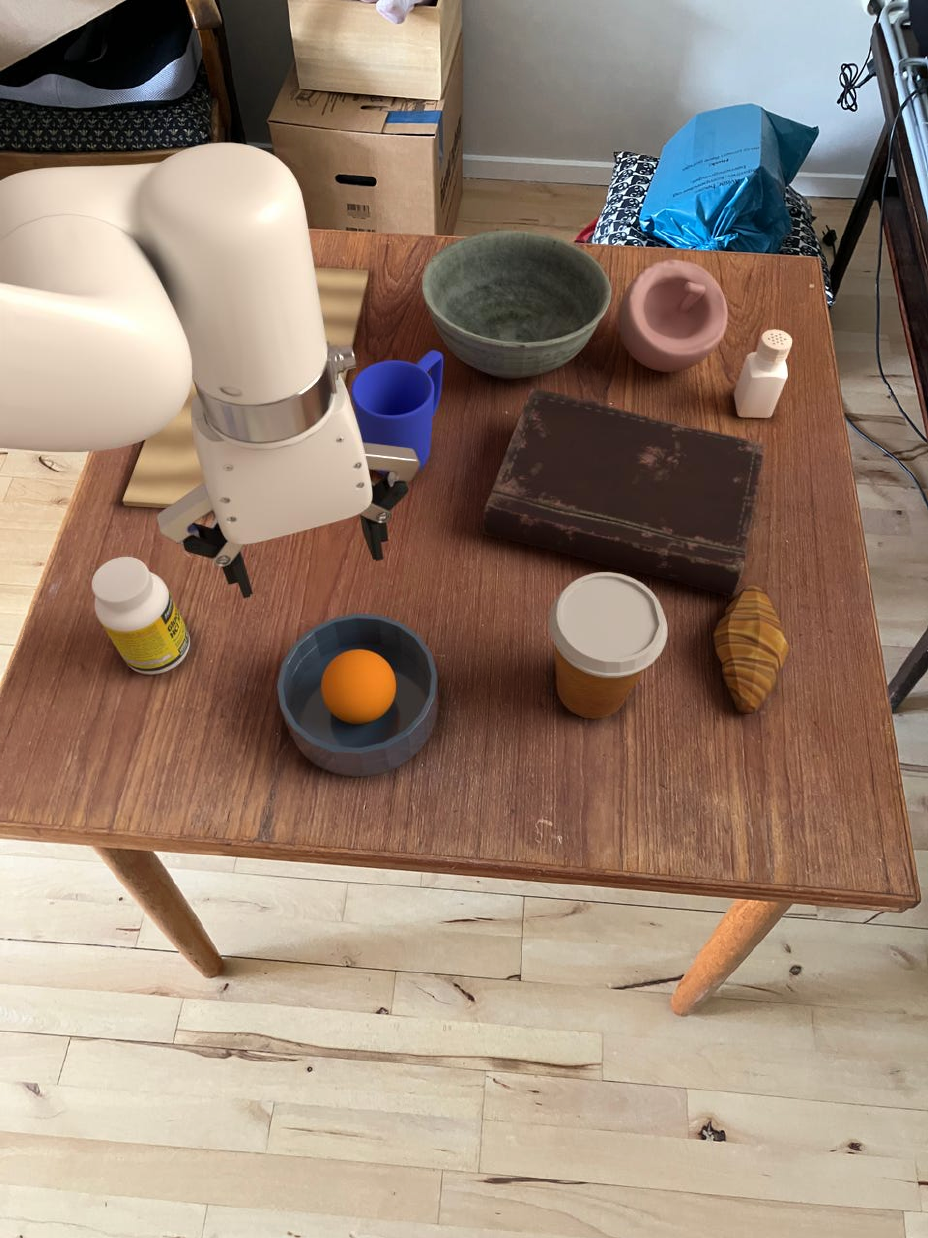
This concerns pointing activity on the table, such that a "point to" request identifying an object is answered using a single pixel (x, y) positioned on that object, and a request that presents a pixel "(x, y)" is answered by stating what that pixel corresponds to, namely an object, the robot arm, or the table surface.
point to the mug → (399, 403)
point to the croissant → (750, 648)
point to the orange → (358, 686)
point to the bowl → (515, 301)
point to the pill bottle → (139, 616)
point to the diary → (627, 491)
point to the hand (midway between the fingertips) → (309, 563)
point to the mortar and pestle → (672, 315)
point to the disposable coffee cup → (604, 640)
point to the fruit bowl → (370, 742)
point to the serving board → (172, 452)
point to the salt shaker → (763, 376)
